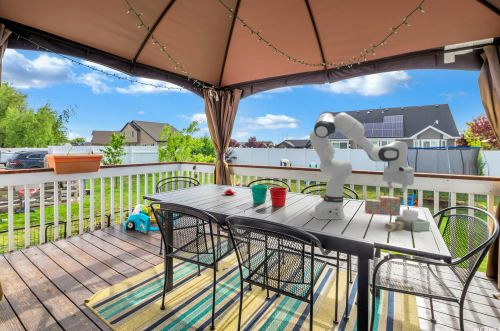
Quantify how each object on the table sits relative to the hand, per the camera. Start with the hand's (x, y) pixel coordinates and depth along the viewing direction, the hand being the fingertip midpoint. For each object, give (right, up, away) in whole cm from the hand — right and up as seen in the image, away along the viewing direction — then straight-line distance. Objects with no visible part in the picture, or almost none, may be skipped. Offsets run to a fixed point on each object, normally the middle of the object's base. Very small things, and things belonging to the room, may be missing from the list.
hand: (396, 190), depth 148 cm
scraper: (-5, -22, -7) cm, 24 cm away
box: (+8, -22, -2) cm, 23 cm away
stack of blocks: (+6, -20, +27) cm, 34 cm away
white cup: (+6, -22, -3) cm, 23 cm away
